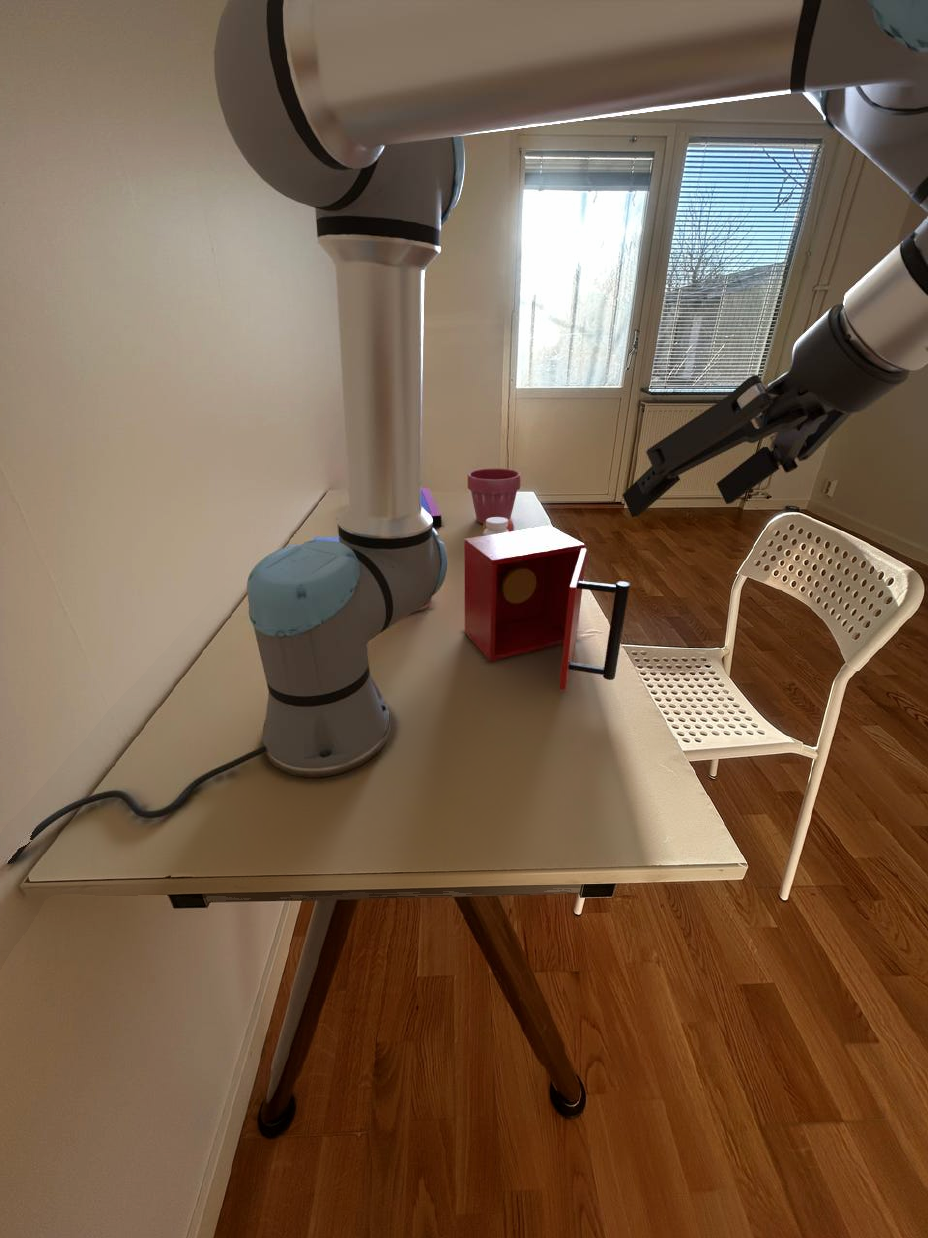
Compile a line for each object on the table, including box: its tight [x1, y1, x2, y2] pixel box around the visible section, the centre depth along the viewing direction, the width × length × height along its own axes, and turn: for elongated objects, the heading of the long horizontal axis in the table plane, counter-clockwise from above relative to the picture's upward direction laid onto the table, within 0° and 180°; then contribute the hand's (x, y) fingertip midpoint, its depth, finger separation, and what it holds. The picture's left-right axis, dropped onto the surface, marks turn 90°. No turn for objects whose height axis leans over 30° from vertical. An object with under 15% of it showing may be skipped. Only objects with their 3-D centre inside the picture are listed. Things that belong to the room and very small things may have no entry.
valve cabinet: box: [463, 525, 586, 662], centre depth 81 cm, size 10×15×17 cm, turn 113°
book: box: [421, 487, 442, 528], centre depth 147 cm, size 21×3×30 cm
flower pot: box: [467, 467, 522, 525], centre depth 138 cm, size 14×14×13 cm
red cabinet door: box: [558, 548, 631, 691], centre depth 72 cm, size 7×14×16 cm, turn 163°
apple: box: [482, 512, 515, 533], centre depth 121 cm, size 7×7×8 cm
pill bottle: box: [482, 517, 509, 536], centre depth 111 cm, size 6×6×10 cm
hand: (678, 499), depth 56 cm, fingers open, 13 cm apart
